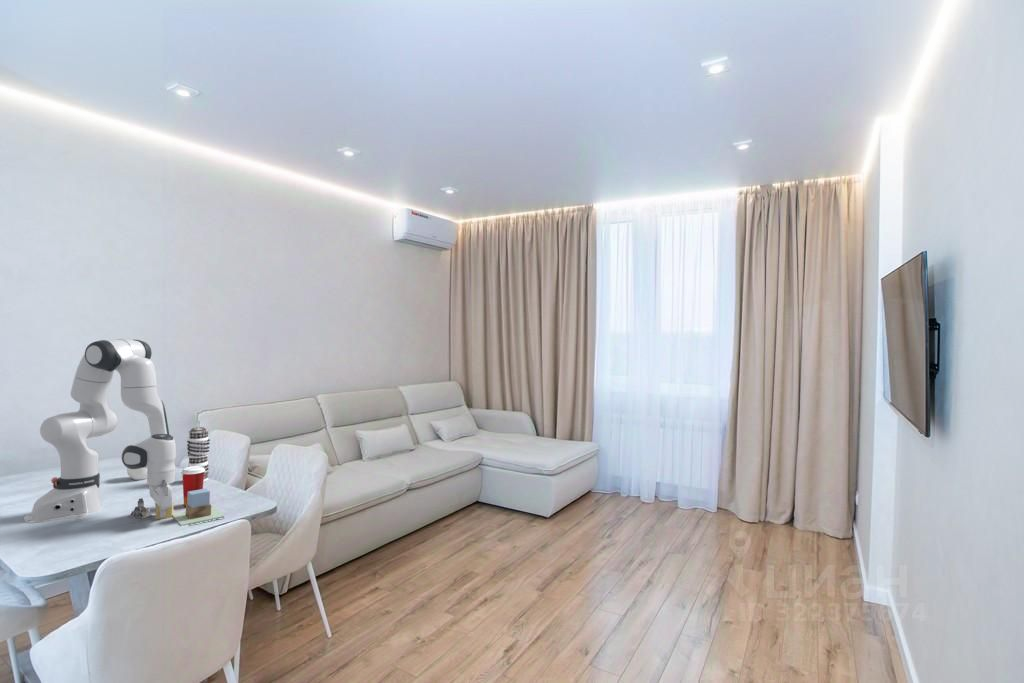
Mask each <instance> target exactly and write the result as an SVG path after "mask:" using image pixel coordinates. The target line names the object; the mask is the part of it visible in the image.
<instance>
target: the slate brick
mask: <svg viewBox="0 0 1024 683" xmlns="http://www.w3.org/2000/svg"><path fill="white" fill-rule="evenodd" d="M210 494H211V491H210V490H209V489H207V488H203V489H200V490H195V491H189V492H188V495H187V505H188V506H189V507H191V508H195V507H199V506H204V505H209V504H211V502H210V499H211V498H210V497H211V496H210Z"/></svg>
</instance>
